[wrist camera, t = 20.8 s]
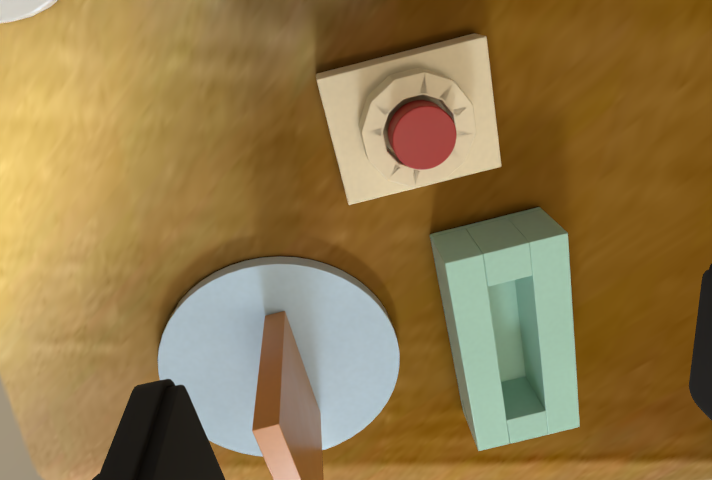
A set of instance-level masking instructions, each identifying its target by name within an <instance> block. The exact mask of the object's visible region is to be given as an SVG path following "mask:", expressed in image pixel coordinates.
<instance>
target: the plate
mask: <svg viewBox="0 0 712 480" xmlns="http://www.w3.org/2000/svg"><path fill="white" fill-rule="evenodd" d="M282 311H285V312H286V315H287V318H288V321H289V324H290V327H291V330H292V332H293V335H294V338H295V341H296V344H297V347H298V350H299V353H300V355H301V358H302V361H303V364H304V367H305V370H306V373H307V376H308V378H309V381H310V384H311V387H312V390H313V393H314V396H315V399H316V401H317V404H318V407H319V410H320V413H321V435H322V450H325V449H327V448H330V447H332V446H335V445H337V444H340V443H341V442H343V441H345V440H347V439H349V438H351V437H352V436H354V435H355V434H357V433H358V432H360V431H361V430H362V429H364V428H365V427H366V426H367V425H368V424H369V423H370V422H372V421H373V419H374V418H375V417H376V416H377V415H378V414H379V413H380V412H381V410H382V409H383V407H384V406H385V404H386V403H387V402H388V400H389V398H390V396H391V394H392V392H393V390H394V387H395V384H396V381H397V377H398V371H399V347H398V341H397V337H396V333H395V330H394V327H393V324H392V321H391V319H390V317H389V315H388V313H387V311H386V309H385V308H384V306H383V305H382V303H381V302H380V301H379V299H378V298H377V297H376V296H375V295H374V294H373V293H372V292H371V291H370V290H369V289H368V288H367V287H366V286H365V285H364V284H362V283H361V282H360V281H358V280H357V279H356V278H354V277H352V276H351V275H349V274H347V273H346V272H344V271H342V270H340V269H337V268H335V267H333V266H330V265H328V264H325V263H321V262H318V261H314V260H310V259H304V258H298V257H282V256H277V257H263V258H257V259H252V260H246V261H243V262H240V263H236V264H233V265H230V266H228V267H226V268H223V269H221V270H219V271H217V272H215V273H213V274H211V275H210V276H208V277H207V278H205V279H203V280H202V281H200V282H199V283H198V284H197V285H196V286H194V287H193V288H192V289H191V290H190V291H189V292H188V293H187V294H186V295H185V296H184V297H183V298H182V299H181V300H180V301H179V303H178V304H177V306H176V307H175V309H174V310H173V312H172V314H171V316H170V318H169V320H168V322H167V324H166V327H165V329H164V332H163V334H162V338H161V342H160V345H159V352H158V373H159V377H160V380H164V379H171V380H172V381H173V382H174V384H175V386H176V385H184V386H185V388H186V390H187V392H188V394H189V396H190V399H191V401H192V403H193V406H194V408H195V410H196V413H197V415H198V417H199V420H200V422H201V424H202V427H203V429H204V431H205V434H206V436H207V438H208V440H210V441H211V442H213V443H215V444H218V445H220V446H222V447H225V448H227V449H230V450H233V451H237V452H240V453H244V454H249V455H254V456H263V455H262V453H261V450H260V448H259V446H258V443H257V441H256V439H255V436H254V434H253V432H252V426H253V417H254V408H255V399H256V391H257V382H258V373H259V364H260V355H261V346H262V337H263V328H264V319H265V316H266V315H270V314H274V313H278V312H282Z"/></svg>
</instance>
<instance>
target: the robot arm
mask: <svg viewBox="0 0 712 480" xmlns="http://www.w3.org/2000/svg"><path fill="white" fill-rule="evenodd" d="M57 1H58V0H0V23H6V22H13V21H17V20H21V19H25V18H28V17H32V16H34V15H36V14H38V13H40V12H42V11H44V10H45V9H47V8H49V7H51V6H52V5H53V4H54V3H55V2H57ZM689 389H690V393H691V396H692V398H693V400H694V401H695V403H696V404H697V405H698V407H699V408H700V409H701V410H702V411H703V412H704V413H705V414H706V415H707V416H708V417H709V418H710V419H711V420H712V264H711V265H710V268H709V270H707V271H705V273H704V274H703V277H702V284H701V292H700V300H699V308H698V316H697V325H696V333H695V341H694V349H693V357H692V365H691V373H690V381H689ZM92 480H225V478H224V476H223V473H222V471H221V469H220V466H219V464H218V462H217V459H216V457H215V455H214V452H213V450H212V448H211V445H210V443H209V441H208V438H207V436H206V434H205V431H204V429H203V427H202V424H201V422H200V420H199V417H198V415H197V413H196V410H195V408H194V406H193V403H192V401H191V399H190V396H189V394H188V392H187V390H186V388H185V386H184V385H176V386H175V384H174V382H173V381H172V380H171V379H164V380H160V381H155V382H151V383H146V384H141V385H137V386H136V387H134V389H133V391H132V393H131V396H130V398H129V401H128V403H127V406H126V408H125V411H124V413H123V416H122V419H121V421H120V424H119V426H118V429H117V431H116V434H115V436H114V439H113V441H112V444H111V446H110V449H109V451H108V454H107V457H106V459H105V462H104V464H103V467H102V469H101V472H100V474H98V475H97V476H95V477H94V478H93V479H92Z"/></svg>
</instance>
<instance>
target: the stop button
mask: <svg viewBox="0 0 712 480" xmlns="http://www.w3.org/2000/svg"><path fill="white" fill-rule="evenodd" d="M456 136H457V134H456V127H455V124H454V122H453V120H452V118H451V117H450V115H449V114H448V113H447V112H445V111H444V110H443V109H442V108H441V107H440V106H438V105H437V104H435V103H433V102H431V101H427V100H415V101H411V102H408V103H406V104H404V105H403V106H401V107H400V108H399V109H398V110H397V111H396V112H395V114H394V115H393V117H392V118H391V121H390V123H389V127H388V139H389V143H390V145H391V147H392V149H393V151H394V153H395V154H396V156H397V158H398V159H399V160H400V161H401V162H402V163H403V164H405V165H406V166H408V167H410V168H413V169H417V170H426V169H431V168H434V167H436V166H438V165H440V164H441V163H443V162H444V161H445V160H446V159H447V158H448V157H449V156H450V154H451V153H452V151H453V149H454V146H455V143H456Z"/></svg>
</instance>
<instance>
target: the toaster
mask: <svg viewBox="0 0 712 480" xmlns="http://www.w3.org/2000/svg"><path fill="white" fill-rule="evenodd" d="M430 239H431V244H432V250H433V255H434V260H435V265H436V271H437V276H438V281H439V287H440V292H441V297H442V302H443V308H444V313H445V318H446V324H447V329H448V334H449V340H450V345H451V350H452V355H453V361H454V366H455V371H456V377H457V382H458V387H459V392H460V398H461V403H462V408H463V412H464V414H465V417H466V420H467V422H468V425H469V427H470V430H471V433H472V435H473V438H474V441H475V443H476V446H477V448H478V450H479V451H481V450H485V449H489V448H493V447H498V446H502V445H506V444H509V443H515V442H519V441H523V440H527V439H531V438H535V437H540V436H544V435H548V434H552V433H556V432H560V431H564V430H568V429H573V428H577V427H580V425H579V408H578V392H577V375H576V359H575V343H574V326H573V310H572V293H571V277H570V260H569V244H568V233H567V232H566V231H565V230H564V229H563V228H562V227H561V226H560V225H559V224H558V223H556V222H555V221H554V220H553V219H552V218H551V217H550V216H549V215H548V214H547V213H546V212H545V211H543V210H542V209H541V208H540V207H537V208H533V209H529V210H525V211H521V212H517V213H513V214H509V215H505V216H501V217H497V218H493V219H489V220H485V221H481V222H477V223H473V224H469V225H465V226H461V227H457V228H453V229H449V230H445V231H441V232H437V233H433V234H430Z"/></svg>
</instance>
